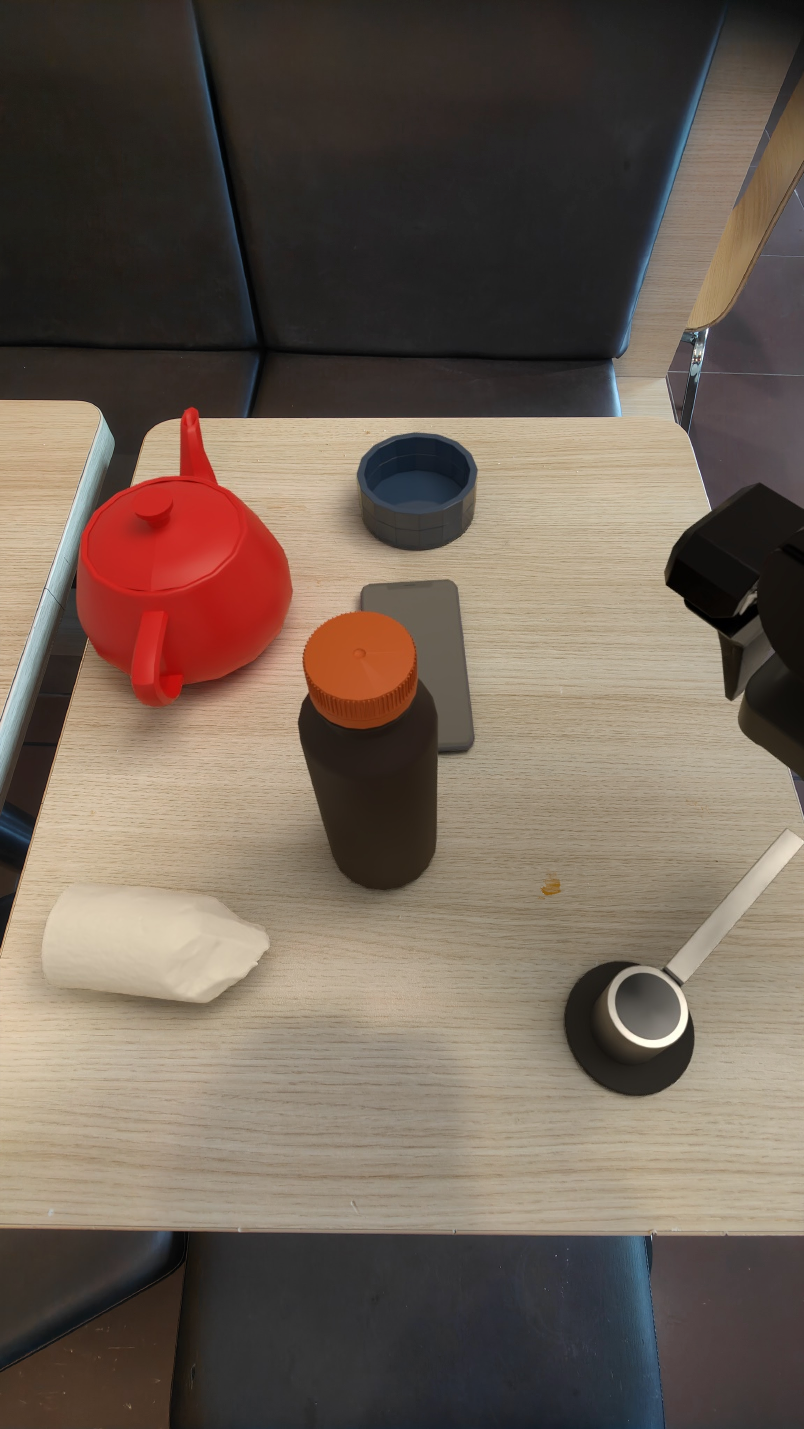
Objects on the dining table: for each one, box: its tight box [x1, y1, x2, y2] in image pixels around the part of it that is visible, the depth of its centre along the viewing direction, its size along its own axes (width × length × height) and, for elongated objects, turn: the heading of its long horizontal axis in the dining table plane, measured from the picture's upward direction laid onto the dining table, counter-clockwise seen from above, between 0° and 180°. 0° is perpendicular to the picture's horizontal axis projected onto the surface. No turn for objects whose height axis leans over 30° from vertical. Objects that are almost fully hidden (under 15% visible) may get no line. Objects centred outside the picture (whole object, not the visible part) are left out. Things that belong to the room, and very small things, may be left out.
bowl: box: [356, 431, 479, 551], centre depth 65 cm, size 10×10×4 cm
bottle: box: [297, 610, 439, 892], centre depth 42 cm, size 7×7×20 cm
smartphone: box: [359, 578, 476, 753], centre depth 57 cm, size 8×1×15 cm
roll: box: [40, 880, 271, 1004], centre depth 44 cm, size 6×12×6 cm, turn 83°
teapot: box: [75, 406, 294, 708], centre depth 56 cm, size 25×16×12 cm, turn 0°
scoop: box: [590, 827, 804, 1065], centre depth 43 cm, size 15×4×6 cm, turn 133°
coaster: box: [563, 960, 695, 1097], centre depth 43 cm, size 7×7×1 cm
